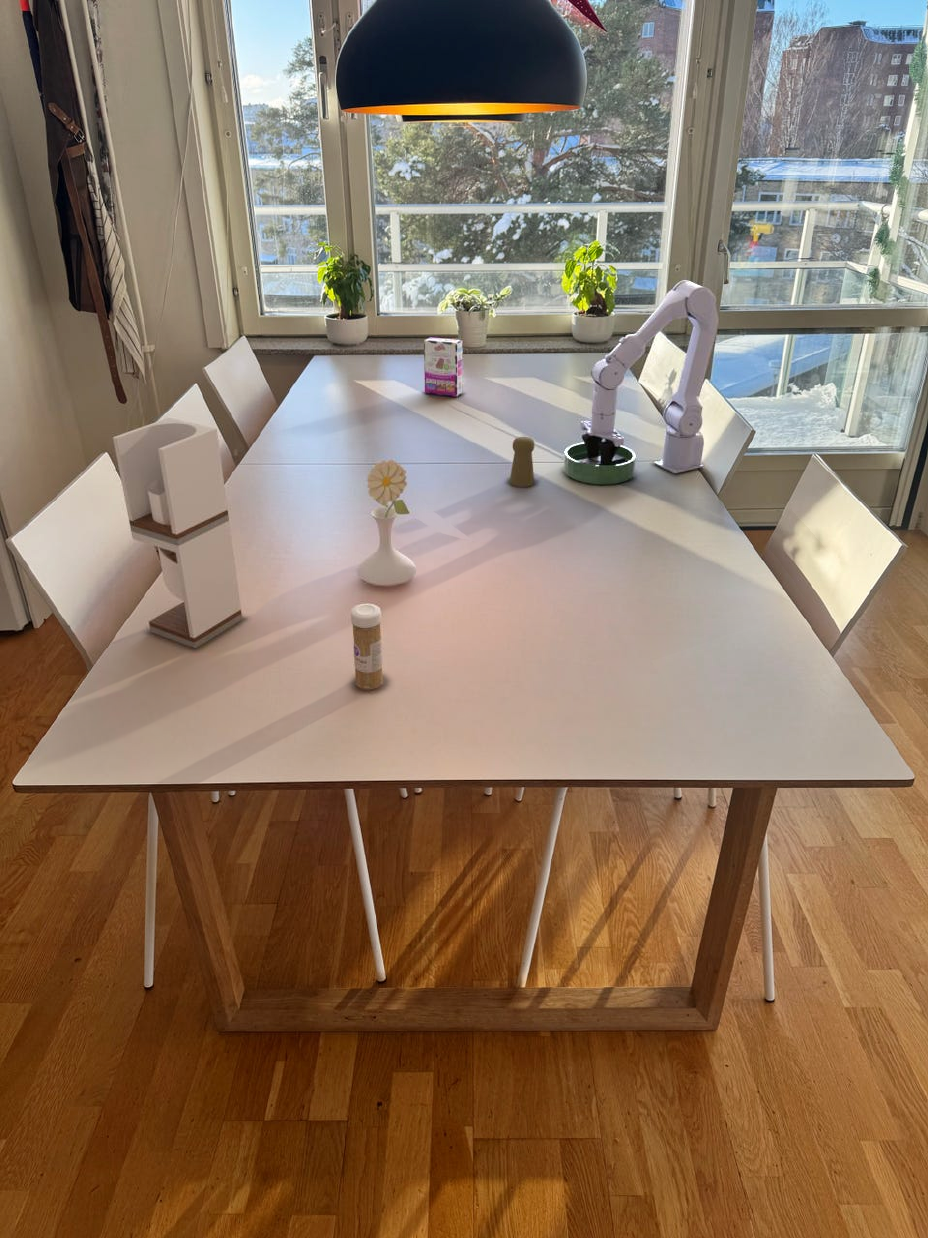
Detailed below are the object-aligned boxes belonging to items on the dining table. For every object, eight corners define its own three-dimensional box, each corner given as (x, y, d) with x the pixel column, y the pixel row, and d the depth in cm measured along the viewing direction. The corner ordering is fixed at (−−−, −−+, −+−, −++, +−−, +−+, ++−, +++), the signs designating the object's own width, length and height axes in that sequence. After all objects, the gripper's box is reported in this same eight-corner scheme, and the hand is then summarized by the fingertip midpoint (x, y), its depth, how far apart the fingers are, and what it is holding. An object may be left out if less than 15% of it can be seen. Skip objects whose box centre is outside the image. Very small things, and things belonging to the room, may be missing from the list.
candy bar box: (463, 393, 281) (463, 339, 273) (456, 397, 277) (457, 343, 269) (430, 389, 285) (430, 336, 276) (423, 393, 281) (423, 339, 272)
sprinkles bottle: (349, 683, 143) (344, 610, 136) (369, 671, 146) (365, 599, 139) (369, 694, 140) (365, 620, 134) (389, 682, 143) (386, 608, 137)
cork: (532, 487, 214) (534, 443, 209) (507, 485, 215) (509, 441, 210) (536, 478, 219) (538, 435, 214) (511, 476, 220) (513, 433, 215)
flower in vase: (346, 575, 175) (338, 452, 162) (395, 559, 181) (391, 440, 168) (383, 601, 166) (377, 474, 153) (433, 584, 172) (431, 460, 159)
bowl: (604, 456, 233) (606, 437, 231) (648, 478, 220) (650, 458, 218) (549, 467, 226) (550, 448, 223) (591, 490, 213) (593, 471, 210)
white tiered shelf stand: (198, 604, 165) (168, 417, 147) (242, 619, 160) (216, 428, 142) (150, 631, 156) (112, 437, 138) (195, 648, 151) (162, 449, 134)
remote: (612, 463, 227) (614, 451, 225) (623, 469, 224) (625, 456, 222) (572, 472, 222) (573, 459, 220) (583, 478, 218) (584, 465, 217)
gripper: (572, 405, 219) (568, 459, 226) (609, 422, 208) (603, 477, 215) (595, 401, 222) (591, 454, 229) (633, 418, 211) (627, 472, 218)
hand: (598, 465), depth 222 cm, fingers closed on remote, 4 cm apart
